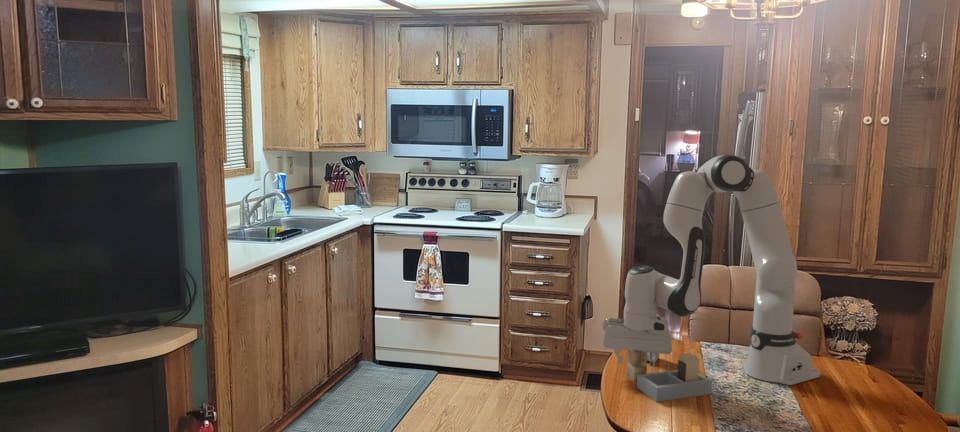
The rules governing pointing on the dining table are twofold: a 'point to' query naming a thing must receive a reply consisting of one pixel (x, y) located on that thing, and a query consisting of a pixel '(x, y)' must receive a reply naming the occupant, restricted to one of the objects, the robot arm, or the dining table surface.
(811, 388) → the dining table surface
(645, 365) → the block
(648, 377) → the divided grey tray
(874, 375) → the dining table surface
